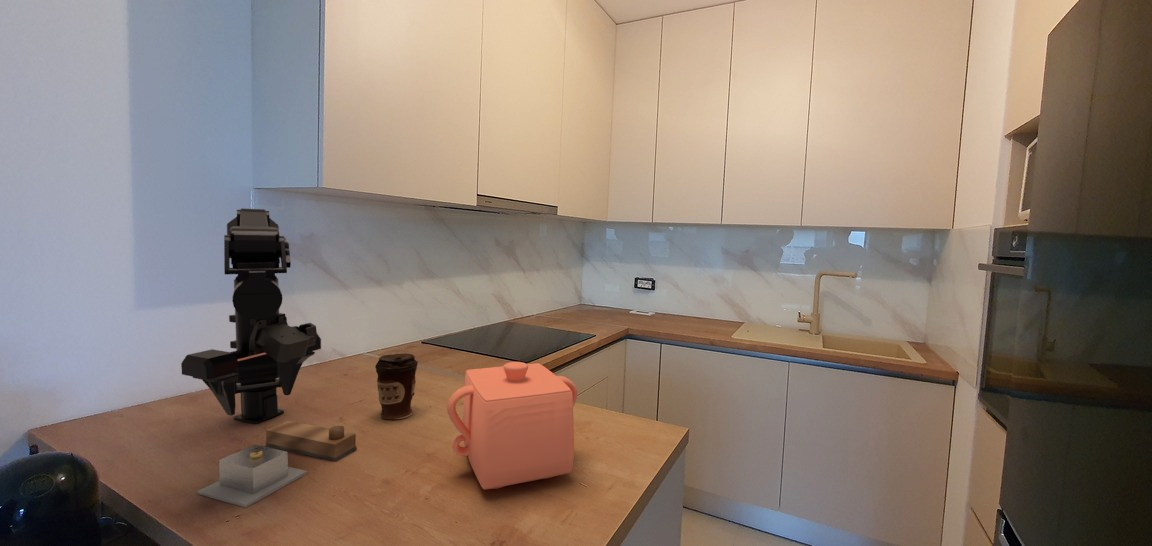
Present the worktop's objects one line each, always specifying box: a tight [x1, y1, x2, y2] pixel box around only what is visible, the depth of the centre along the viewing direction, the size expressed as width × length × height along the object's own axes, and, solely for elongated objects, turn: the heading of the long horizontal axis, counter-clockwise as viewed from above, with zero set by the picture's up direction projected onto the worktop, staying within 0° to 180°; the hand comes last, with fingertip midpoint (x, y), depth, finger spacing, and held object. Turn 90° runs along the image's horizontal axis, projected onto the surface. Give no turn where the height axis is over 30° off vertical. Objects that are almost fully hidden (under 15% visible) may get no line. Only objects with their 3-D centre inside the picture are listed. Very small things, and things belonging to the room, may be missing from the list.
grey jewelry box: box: [218, 444, 289, 494], centre depth 71 cm, size 7×6×5 cm
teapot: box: [446, 361, 578, 491], centre depth 81 cm, size 25×23×18 cm
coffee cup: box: [374, 353, 419, 420], centre depth 99 cm, size 9×8×13 cm
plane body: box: [265, 420, 358, 462], centre depth 83 cm, size 16×5×5 cm, turn 72°
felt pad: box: [196, 466, 308, 508], centre depth 71 cm, size 10×10×1 cm
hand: (260, 404), depth 73 cm, fingers open, 9 cm apart
